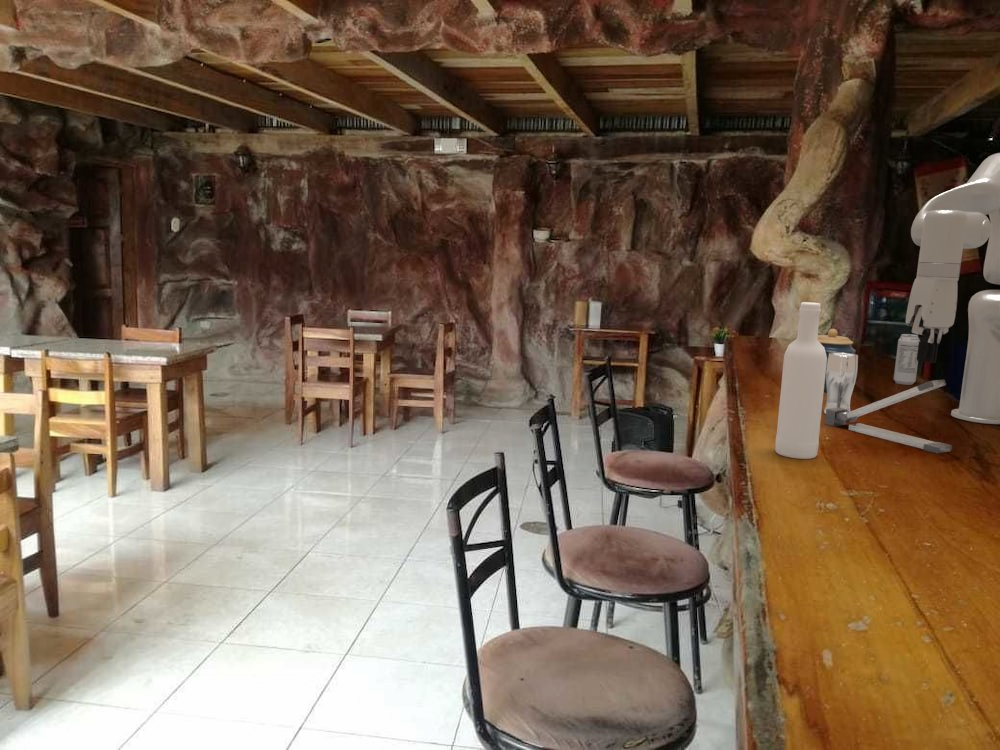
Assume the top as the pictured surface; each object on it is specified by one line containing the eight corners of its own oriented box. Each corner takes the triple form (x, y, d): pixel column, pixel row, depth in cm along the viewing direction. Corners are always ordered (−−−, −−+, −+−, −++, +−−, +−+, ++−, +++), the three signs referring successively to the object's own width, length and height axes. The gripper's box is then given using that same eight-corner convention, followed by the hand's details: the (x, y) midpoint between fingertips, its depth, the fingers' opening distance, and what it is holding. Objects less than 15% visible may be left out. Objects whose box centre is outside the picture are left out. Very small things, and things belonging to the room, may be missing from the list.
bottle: (790, 460, 148) (806, 304, 142) (766, 449, 155) (780, 301, 150) (826, 458, 150) (842, 304, 144) (800, 447, 157) (815, 301, 152)
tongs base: (824, 424, 179) (825, 409, 178) (837, 422, 181) (839, 407, 180) (937, 453, 155) (939, 436, 155) (951, 451, 158) (953, 434, 157)
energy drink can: (915, 383, 237) (921, 335, 235) (914, 386, 232) (920, 336, 230) (894, 380, 240) (900, 333, 238) (892, 383, 235) (898, 335, 233)
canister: (793, 385, 228) (799, 326, 224) (829, 384, 231) (835, 326, 228) (823, 394, 215) (830, 331, 212) (861, 392, 219) (868, 331, 216)
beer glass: (855, 418, 186) (862, 357, 183) (825, 416, 187) (831, 355, 184) (848, 412, 192) (855, 353, 190) (819, 410, 194) (825, 351, 191)
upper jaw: (837, 424, 175) (834, 414, 176) (851, 422, 178) (847, 412, 178) (933, 389, 155) (929, 378, 156) (947, 387, 158) (943, 376, 158)
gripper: (941, 272, 162) (930, 358, 165) (898, 270, 155) (886, 360, 158) (977, 274, 156) (965, 363, 159) (934, 272, 148) (921, 365, 151)
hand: (926, 361), depth 158 cm, fingers closed
